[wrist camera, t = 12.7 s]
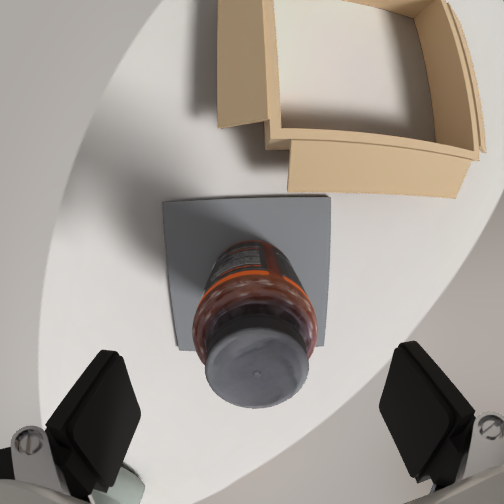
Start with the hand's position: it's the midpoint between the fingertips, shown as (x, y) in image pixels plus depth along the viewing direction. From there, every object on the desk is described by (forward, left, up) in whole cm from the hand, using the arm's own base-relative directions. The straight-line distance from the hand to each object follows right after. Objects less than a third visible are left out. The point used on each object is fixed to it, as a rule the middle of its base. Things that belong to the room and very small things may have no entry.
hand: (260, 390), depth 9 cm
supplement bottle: (0, 0, -13) cm, 13 cm away
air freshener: (+20, +30, -13) cm, 39 cm away
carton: (-9, -17, -13) cm, 23 cm away
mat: (0, 0, -13) cm, 13 cm away
